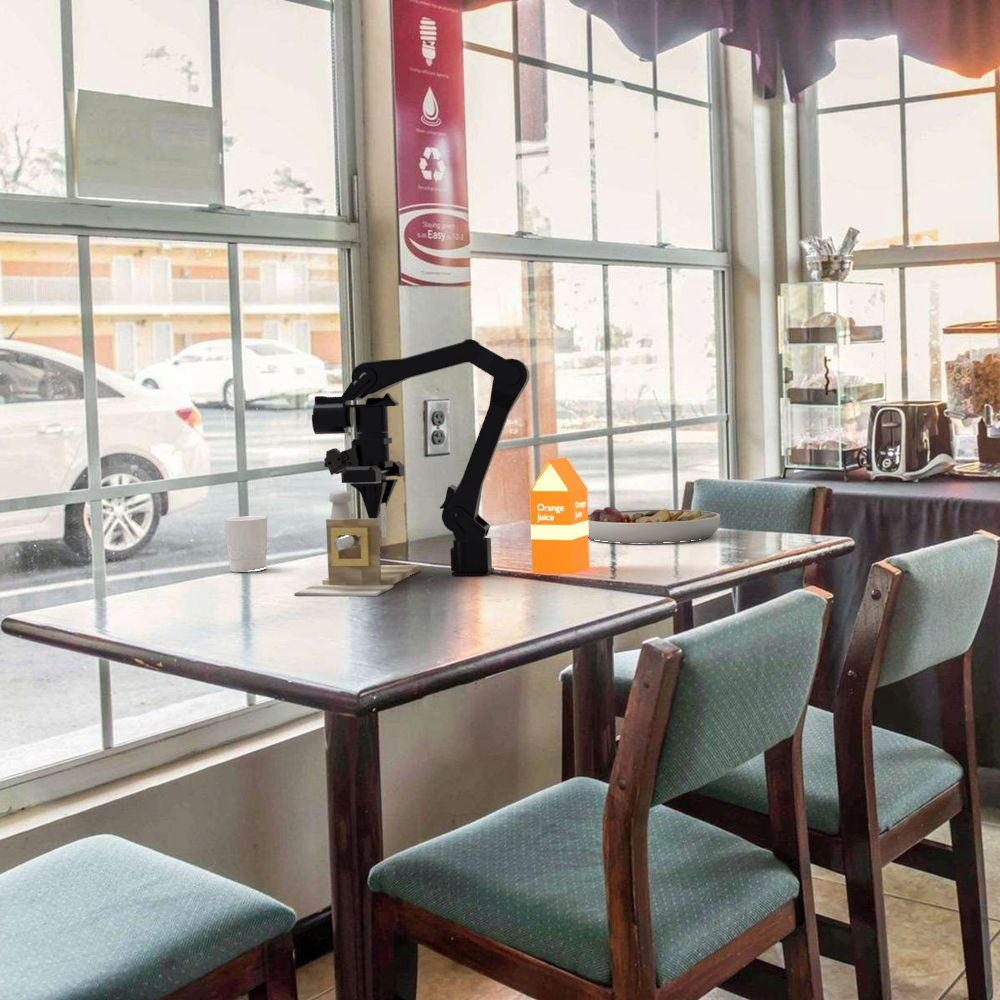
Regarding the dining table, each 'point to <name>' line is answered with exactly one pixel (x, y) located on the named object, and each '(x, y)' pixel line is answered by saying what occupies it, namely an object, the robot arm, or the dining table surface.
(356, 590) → the wooden latch stand
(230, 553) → the white cup
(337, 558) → the frame
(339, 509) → the salt shaker
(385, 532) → the shaft
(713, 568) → the dining table surface
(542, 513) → the orange juice
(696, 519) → the bowl
